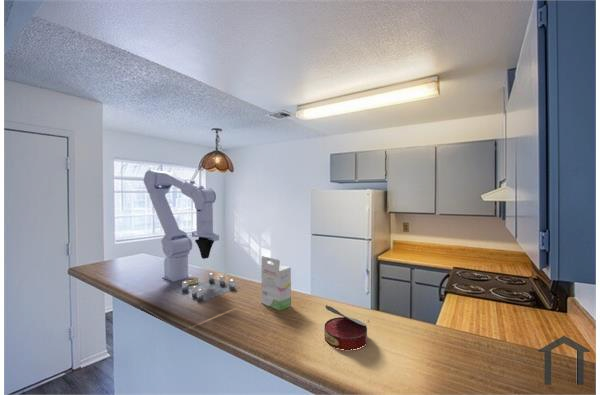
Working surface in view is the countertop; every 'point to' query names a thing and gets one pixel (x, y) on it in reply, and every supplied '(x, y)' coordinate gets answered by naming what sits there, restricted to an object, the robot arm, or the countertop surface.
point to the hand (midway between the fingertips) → (205, 258)
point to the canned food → (345, 332)
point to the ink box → (275, 284)
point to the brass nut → (192, 280)
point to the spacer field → (207, 288)
